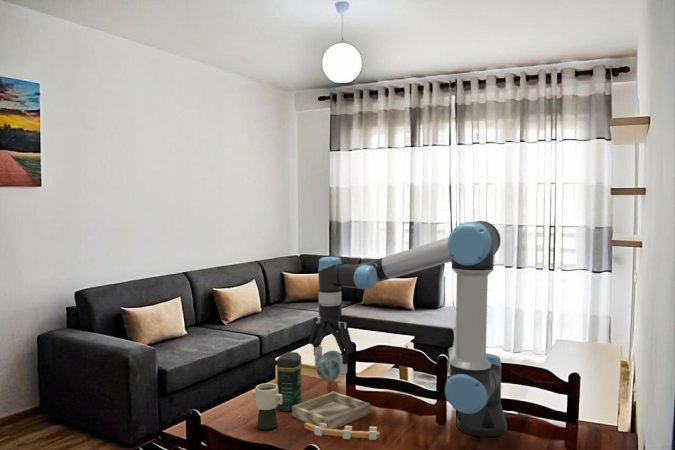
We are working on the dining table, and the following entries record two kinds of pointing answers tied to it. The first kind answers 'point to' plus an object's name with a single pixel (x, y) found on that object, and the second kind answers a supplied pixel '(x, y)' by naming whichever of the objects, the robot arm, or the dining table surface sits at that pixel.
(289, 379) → the coffee jar
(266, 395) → the character mug
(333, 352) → the grey patterned ovoid
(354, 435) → the cable
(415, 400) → the dining table surface
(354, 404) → the wooden tray
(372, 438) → the clips
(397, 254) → the robot arm
